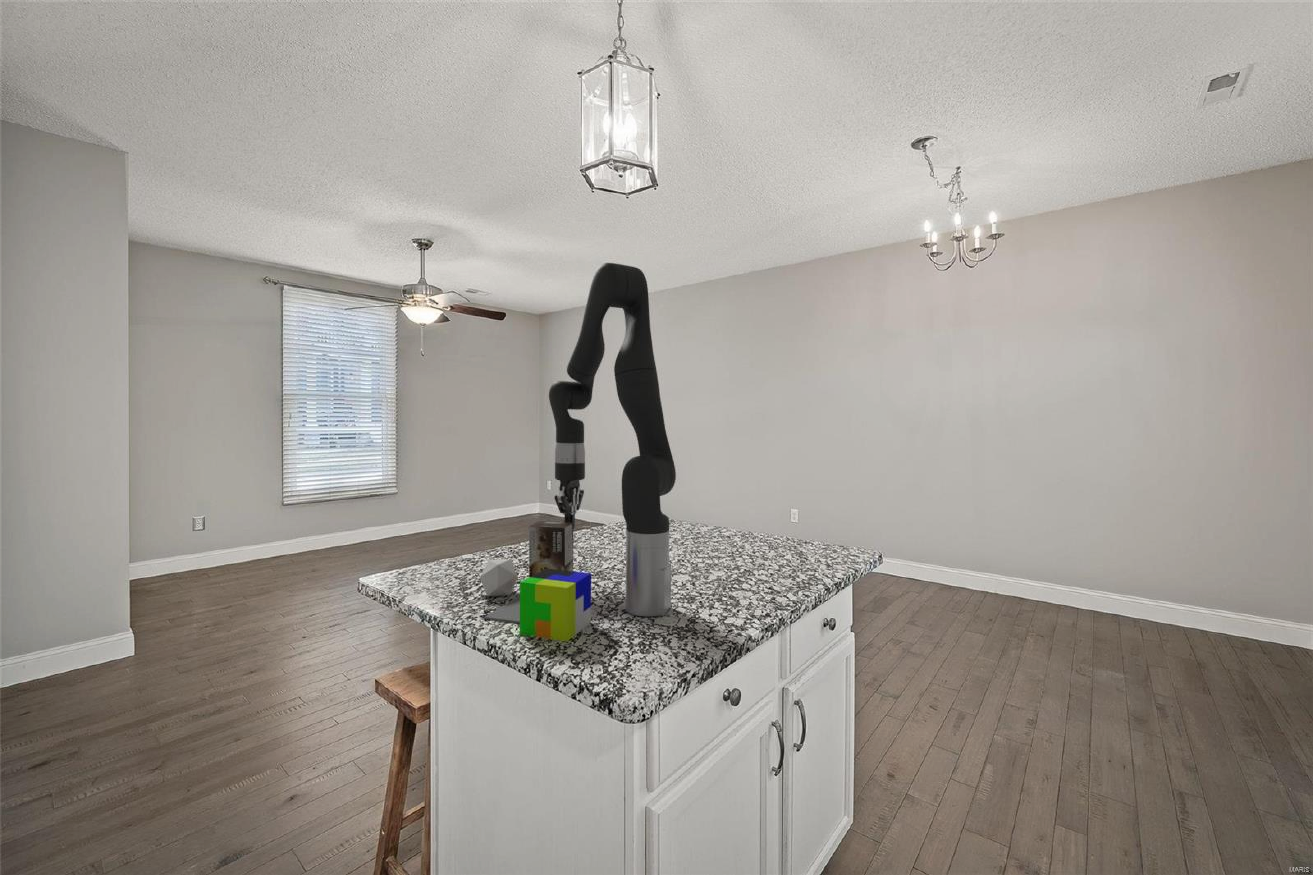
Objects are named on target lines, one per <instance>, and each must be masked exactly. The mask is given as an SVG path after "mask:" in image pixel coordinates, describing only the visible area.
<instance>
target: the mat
mask: <svg viewBox="0 0 1313 875" xmlns="http://www.w3.org/2000/svg"><path fill="white" fill-rule="evenodd" d="M484 620H490V621H500V622H506V623H515V624H520V595H518V596H516V597H515V598H513V599H511V600H509V601H508V602H506V603H505V604H503V605H502V606H500V607H498V608H497V609H495V610H493V611H492V612H490V613H488V614H487V615H485V616H484Z"/></svg>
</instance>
